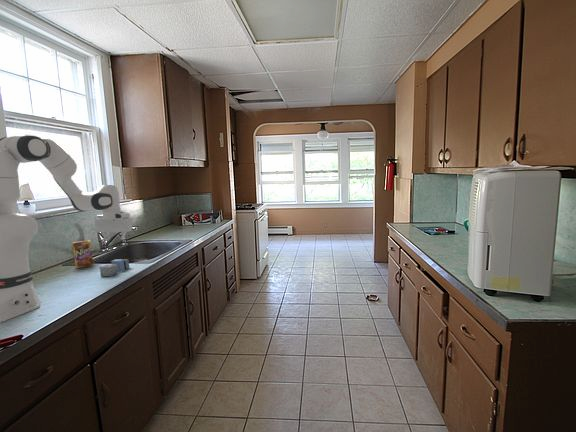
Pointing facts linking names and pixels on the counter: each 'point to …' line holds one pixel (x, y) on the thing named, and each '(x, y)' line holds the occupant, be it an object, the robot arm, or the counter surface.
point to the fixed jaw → (126, 263)
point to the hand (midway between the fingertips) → (114, 239)
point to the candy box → (83, 254)
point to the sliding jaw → (108, 270)
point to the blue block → (119, 264)
